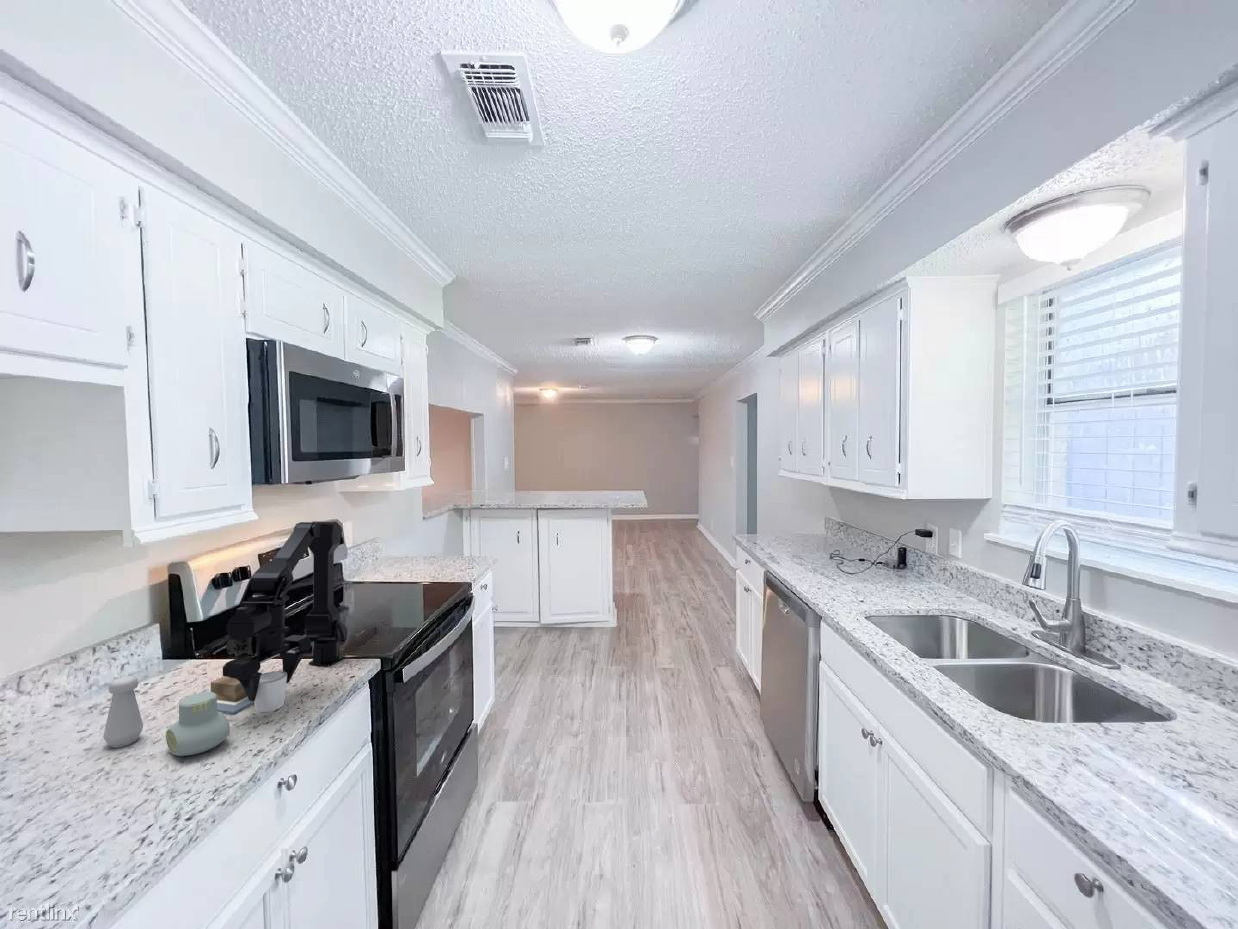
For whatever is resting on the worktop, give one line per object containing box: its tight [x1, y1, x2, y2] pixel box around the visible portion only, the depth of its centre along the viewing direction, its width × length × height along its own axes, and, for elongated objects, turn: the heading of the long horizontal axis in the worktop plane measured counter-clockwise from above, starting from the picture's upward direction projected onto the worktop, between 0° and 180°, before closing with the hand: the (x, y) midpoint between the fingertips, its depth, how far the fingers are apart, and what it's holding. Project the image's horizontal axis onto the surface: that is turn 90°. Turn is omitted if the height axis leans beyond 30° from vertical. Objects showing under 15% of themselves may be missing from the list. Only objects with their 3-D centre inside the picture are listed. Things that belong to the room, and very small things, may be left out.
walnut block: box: [210, 672, 263, 702], centre depth 124 cm, size 7×7×4 cm
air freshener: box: [165, 691, 231, 757], centre depth 103 cm, size 11×8×10 cm
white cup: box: [253, 670, 287, 713], centre depth 120 cm, size 7×7×7 cm
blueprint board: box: [217, 697, 254, 715], centre depth 124 cm, size 14×14×1 cm
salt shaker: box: [102, 675, 144, 749], centre depth 104 cm, size 6×6×13 cm
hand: (269, 691), depth 120 cm, fingers open, 9 cm apart
